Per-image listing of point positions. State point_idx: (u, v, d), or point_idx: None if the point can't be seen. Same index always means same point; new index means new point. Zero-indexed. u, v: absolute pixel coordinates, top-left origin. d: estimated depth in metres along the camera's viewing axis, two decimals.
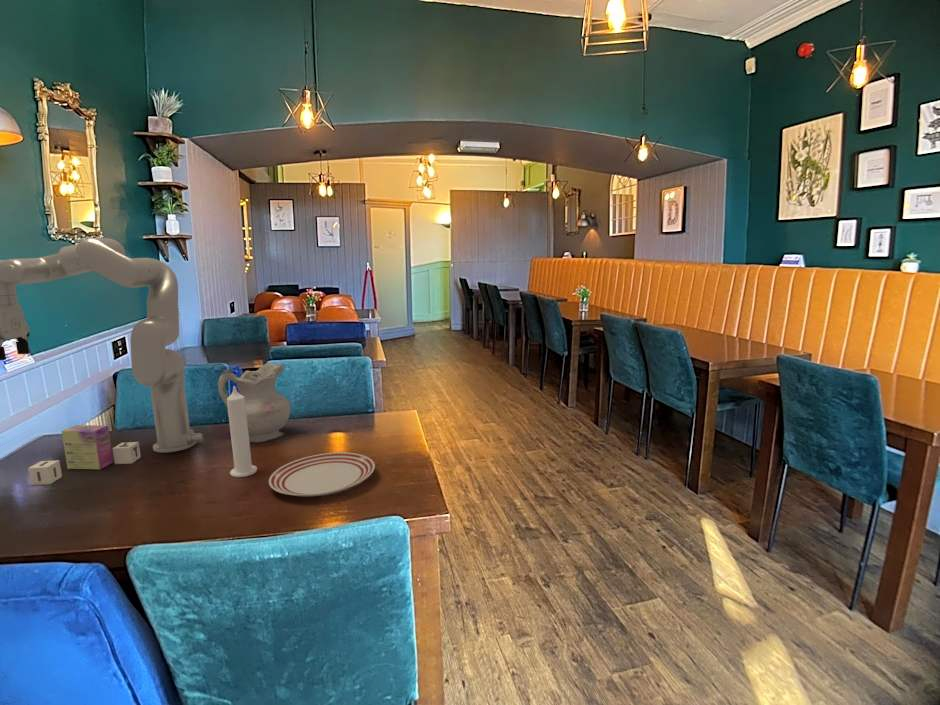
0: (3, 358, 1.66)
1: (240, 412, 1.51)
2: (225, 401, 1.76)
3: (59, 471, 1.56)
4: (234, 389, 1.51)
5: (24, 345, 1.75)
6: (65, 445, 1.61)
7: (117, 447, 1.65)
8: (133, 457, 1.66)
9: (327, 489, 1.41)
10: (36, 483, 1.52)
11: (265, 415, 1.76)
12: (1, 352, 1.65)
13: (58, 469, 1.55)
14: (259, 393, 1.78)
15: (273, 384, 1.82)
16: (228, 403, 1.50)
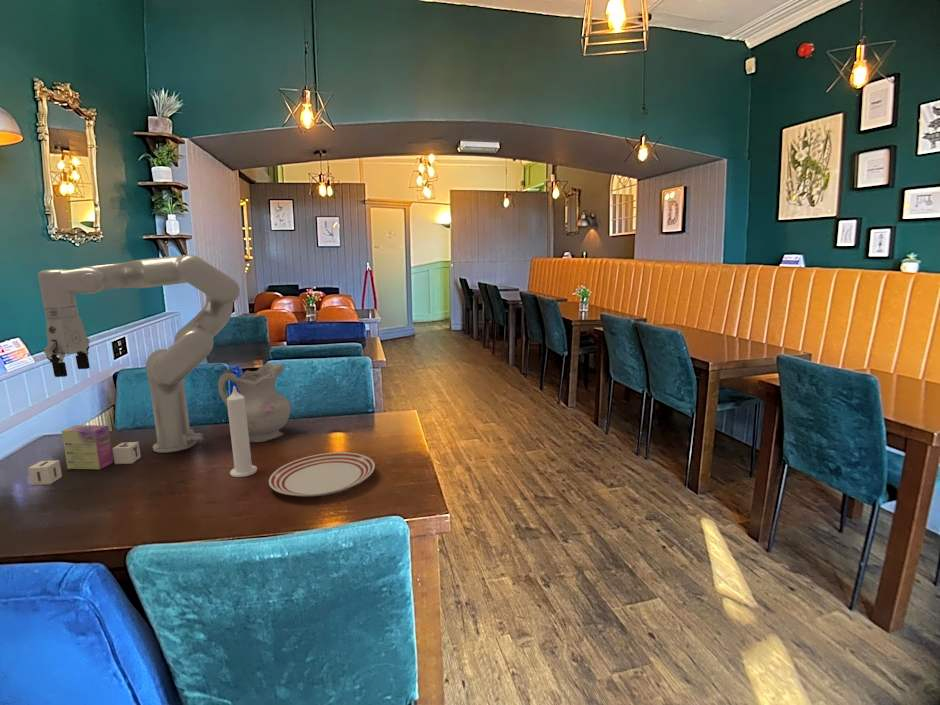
0: (64, 374, 1.55)
1: (240, 412, 1.51)
2: (225, 401, 1.76)
3: (59, 471, 1.56)
4: (234, 389, 1.51)
5: (84, 359, 1.64)
6: (65, 445, 1.61)
7: (117, 447, 1.65)
8: (133, 457, 1.66)
9: (327, 489, 1.41)
10: (36, 483, 1.52)
11: (265, 415, 1.76)
12: (62, 368, 1.54)
13: (58, 469, 1.55)
14: (259, 393, 1.78)
15: (273, 384, 1.82)
16: (228, 403, 1.50)
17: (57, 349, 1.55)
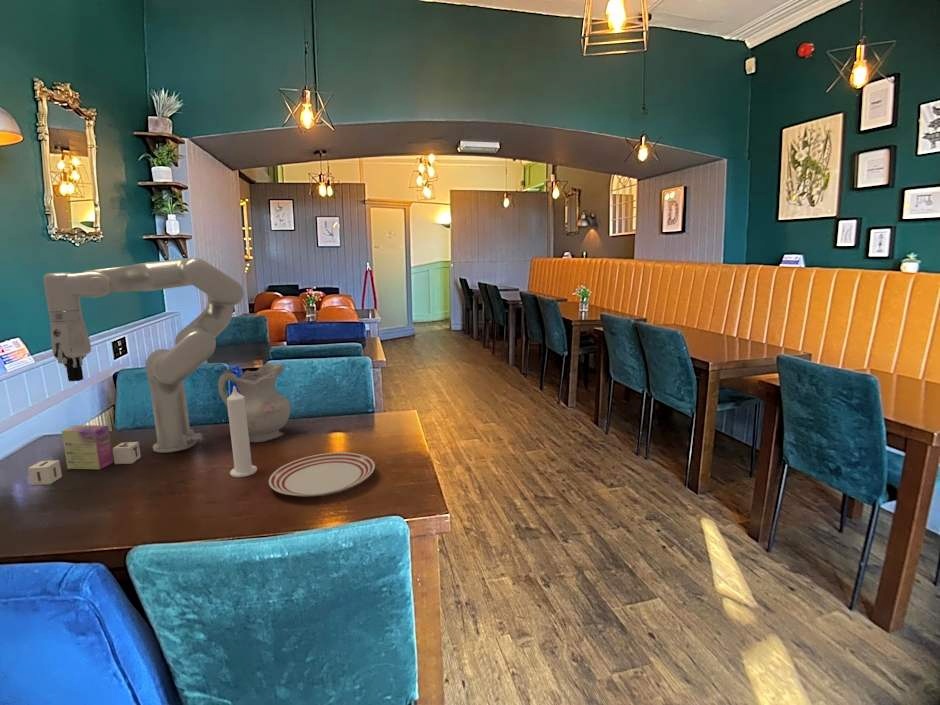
0: (78, 379, 1.58)
1: (240, 412, 1.51)
2: (225, 401, 1.76)
3: (59, 471, 1.56)
4: (234, 389, 1.51)
5: None
6: (65, 445, 1.61)
7: (117, 447, 1.65)
8: (133, 457, 1.66)
9: (327, 489, 1.41)
10: (36, 483, 1.52)
11: (265, 415, 1.76)
12: (76, 373, 1.58)
13: (58, 469, 1.55)
14: (259, 393, 1.78)
15: (273, 384, 1.82)
16: (228, 403, 1.50)
17: None
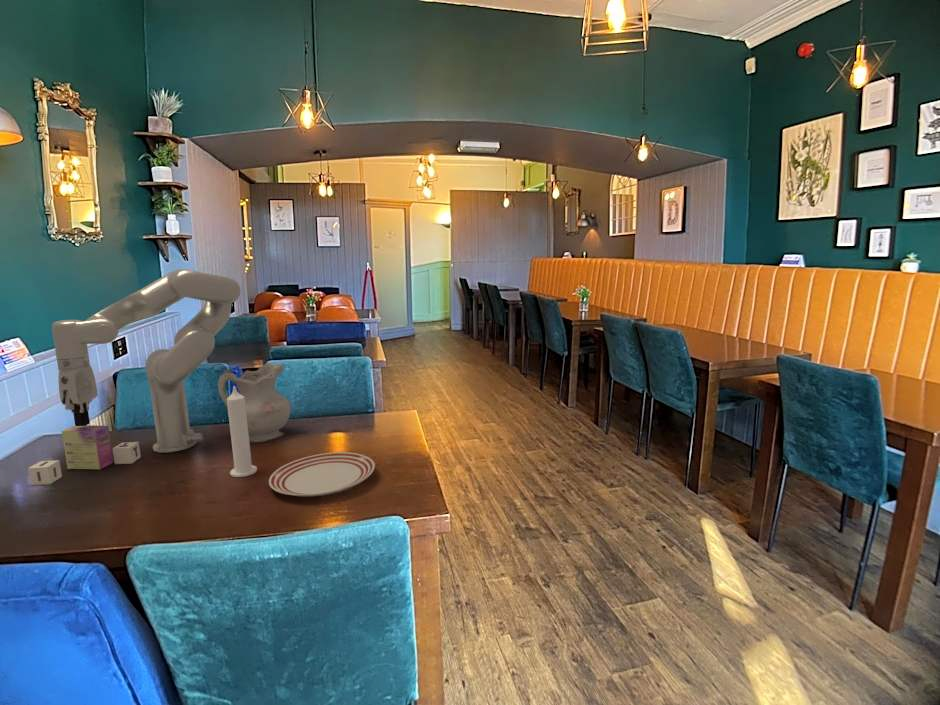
0: (85, 424, 1.61)
1: (240, 412, 1.51)
2: (225, 401, 1.76)
3: (59, 471, 1.56)
4: (234, 389, 1.51)
5: None
6: (65, 445, 1.61)
7: (117, 447, 1.65)
8: (133, 457, 1.66)
9: (327, 489, 1.41)
10: (36, 483, 1.52)
11: (265, 415, 1.76)
12: (83, 418, 1.61)
13: (58, 469, 1.55)
14: (259, 393, 1.78)
15: (273, 384, 1.82)
16: (228, 403, 1.50)
17: None
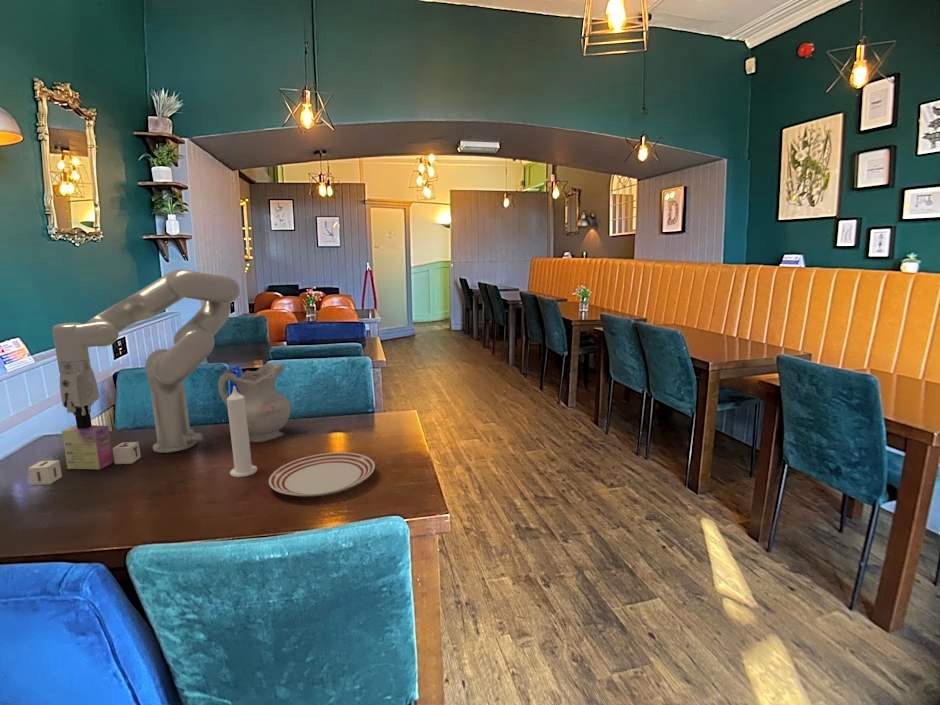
0: (87, 426, 1.61)
1: (240, 412, 1.51)
2: (225, 401, 1.76)
3: (59, 471, 1.56)
4: (234, 389, 1.51)
5: None
6: (65, 445, 1.61)
7: (117, 447, 1.65)
8: (133, 457, 1.66)
9: (327, 489, 1.41)
10: (36, 483, 1.52)
11: (265, 415, 1.76)
12: (85, 420, 1.61)
13: (58, 469, 1.55)
14: (259, 393, 1.78)
15: (273, 384, 1.82)
16: (228, 403, 1.50)
17: None
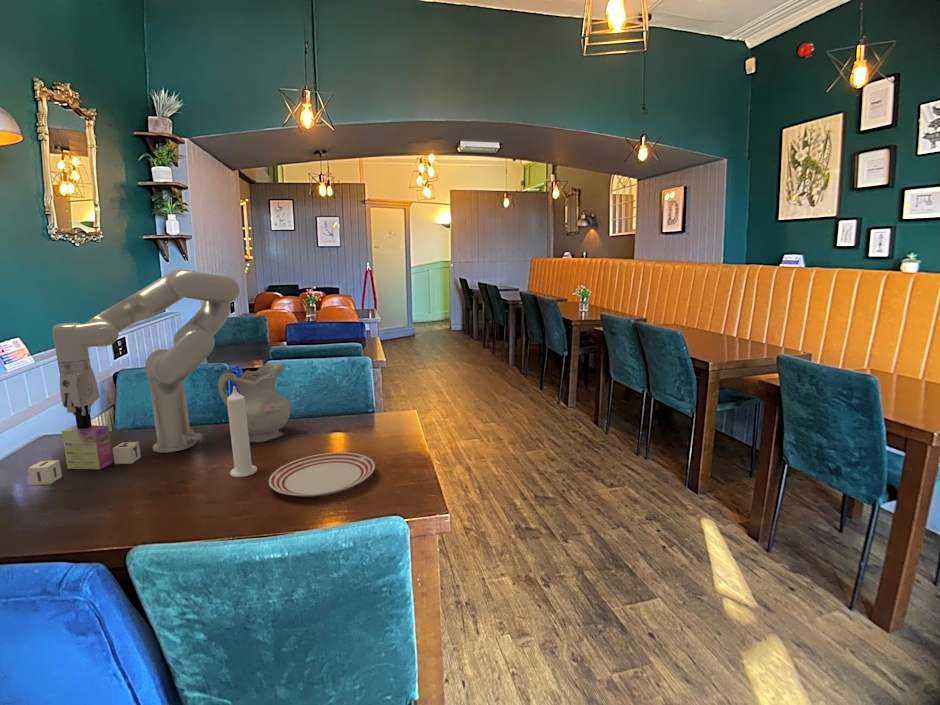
0: (87, 426, 1.61)
1: (240, 412, 1.51)
2: (225, 401, 1.76)
3: (59, 471, 1.56)
4: (234, 389, 1.51)
5: None
6: (65, 445, 1.61)
7: (117, 447, 1.65)
8: (133, 457, 1.66)
9: (327, 489, 1.41)
10: (36, 483, 1.52)
11: (265, 415, 1.76)
12: (85, 420, 1.61)
13: (58, 469, 1.55)
14: (259, 393, 1.78)
15: (273, 384, 1.82)
16: (228, 403, 1.50)
17: None
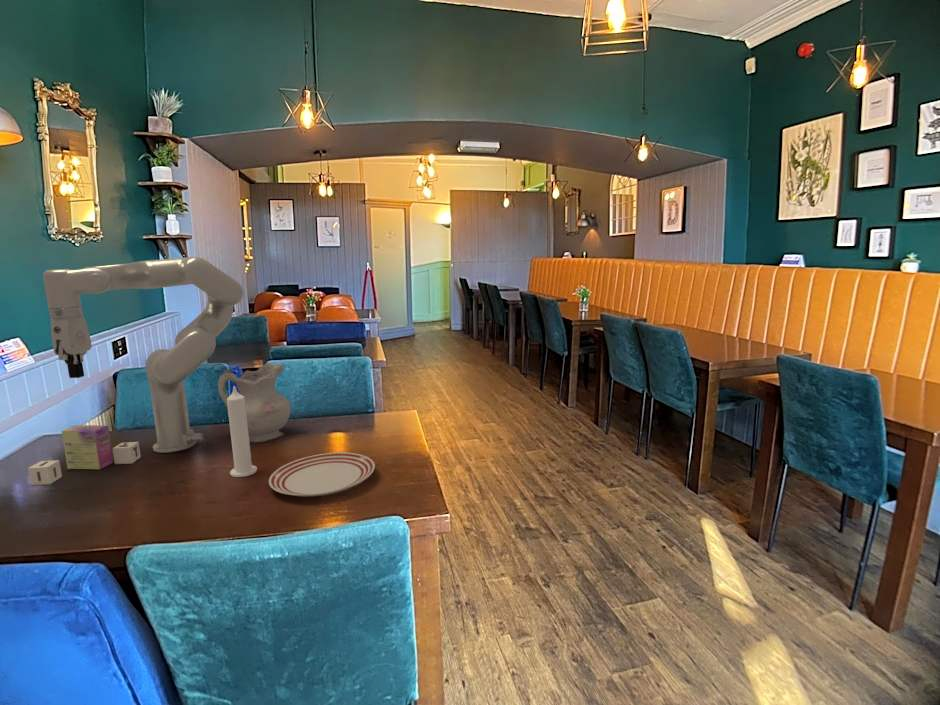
0: (79, 375, 1.59)
1: (240, 412, 1.51)
2: (225, 401, 1.76)
3: (59, 471, 1.56)
4: (234, 389, 1.51)
5: None
6: (65, 445, 1.61)
7: (117, 447, 1.65)
8: (133, 456, 1.66)
9: (327, 489, 1.41)
10: (36, 483, 1.52)
11: (265, 415, 1.76)
12: (77, 369, 1.58)
13: (58, 469, 1.55)
14: (259, 393, 1.78)
15: (273, 384, 1.82)
16: (228, 403, 1.50)
17: None
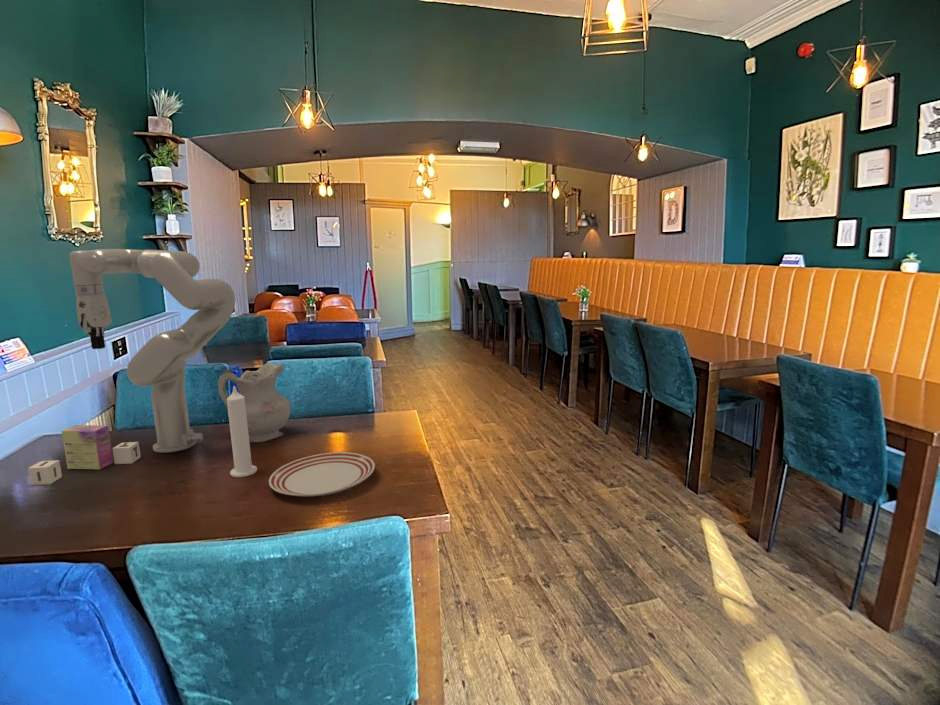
0: (101, 347, 1.76)
1: (240, 412, 1.51)
2: (225, 401, 1.76)
3: (59, 471, 1.56)
4: (234, 389, 1.51)
5: None
6: (65, 445, 1.61)
7: (117, 447, 1.65)
8: (133, 456, 1.66)
9: (327, 489, 1.41)
10: (36, 483, 1.52)
11: (265, 415, 1.76)
12: (99, 341, 1.76)
13: (58, 469, 1.55)
14: (259, 393, 1.78)
15: (273, 384, 1.82)
16: (228, 403, 1.50)
17: None
